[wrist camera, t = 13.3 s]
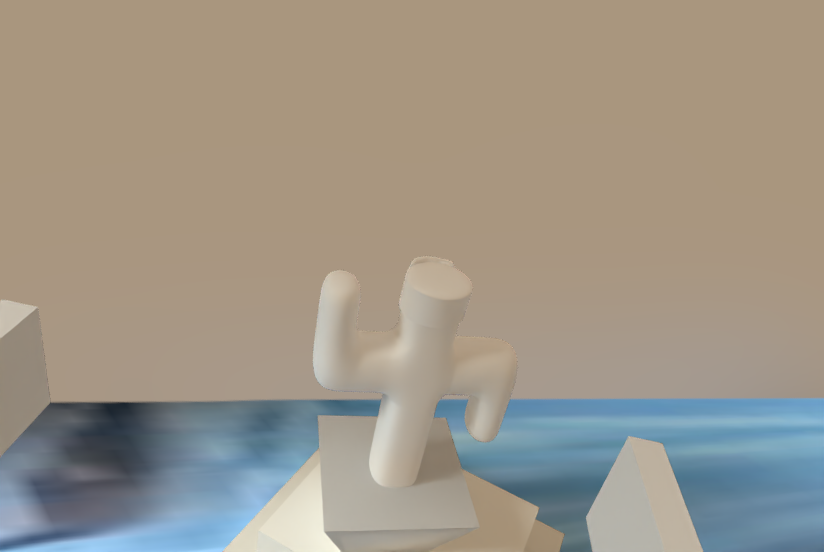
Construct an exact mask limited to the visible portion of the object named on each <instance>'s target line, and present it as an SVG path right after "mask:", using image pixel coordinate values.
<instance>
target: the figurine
mask: <svg viewBox="0 0 824 552" xmlns="http://www.w3.org/2000/svg"><path fill="white" fill-rule="evenodd" d="M472 290H473V285H472V282H471V280H470V279H469V278H468V277H467V275H465V274H464V273H463V272H461V271H460V270H458V269H456V267H455V265H454V263H453V262H452V261H450V260H447V259H443V258H439V257H433V256H424V257H417V258H415V259H413V260H412V262H411V264H410V268H409V269H408V270H407V272H406V276H405V280H404V284H403V288H402V292H401V296H400V300H399V308H400V315H399V320H398V323H397V324H396V326H395V327H394V328H393V329H391V330H389V331H384V332H378V331H376V332H375V331H361V330H358V329H357V318H358V312H359V306H360V298H361V289H360V285H359V282H358V280H357V278H356V277H355V276H354V275H353V274H351V273H350V272H348V271H344V270H336V271H333V272H331V273H329V274H328V275H327V277H326V278H325V280H324V282H323V285H322V289H321V294H320V302H319V310H318V317H317V324H316V331H315V340H314V349H313V368H314V374H315V377H316V379H317V381H318V382H319V383H320V385H321V386H322V387H324V388H326V389H328V390H332V391H344V392H375V393H382V394H383V395H382V400H381V404H380V409H379V414H378V417H376V416H328V415H318V431H319V450H320V468H321V487H322V506H323V525H324V532H325V533H326V535H327V536H328V537H329V538H330V539H331V540H332V542H333V543H334V544H335V545H336V546H337V547H338V549H339V550H340V551H341V552H427V551H430V550H433V549H435V548H437V547H439V546H441V545H443V544H446V543H448V542H450V541H452V540H454V539H456V538H459V537H461V536H463V535H465V534H467V533H469V532H471V531H474V530H476V529H478V528H480V526H479V523H478V519H477V516H476V513H475V510H474V506H473V503H472V500H471V497H470V494H469V490H468V487H467V484H466V481H465V478H464V474H463V471H462V468H461V465H460V461H459V458H458V455H457V452H456V449H455V445H454V442H453V439H452V436H451V432H450V429H449V426H448V423H447V420H446V418H433V417H434V414H435V410H436V406H437V403H438V402H439V400H440V399H441V398H442V397H443V396H444V395H470V396H469V400H468V404H467V407H466V411H465V424H466V427H467V430H468V431H469V433H470V434H471V436H472V437H473V438H475V439H476V440H478V441H480V442H489V441H492V440H493V439H494V438H495V437H496V436H497V434H498V432H499V429H500V426H501V423H502V420H503V417H504V415H505V412H506V409H507V406H508V403H509V400H510V397H511V394H512V391H513V388H514V384H515V380H516V376H517V357H516V353H515V351H514V349H513V348H512V346H511V345H509V343H507V342H506V341H503V340H500V339H496V338H483V337H468V336H456V332H457V329H458V326H459V323H460V322H461V321H462V320H463V318H464V315H465V312H466V309H467V306H468V303H469V300H470V297H471V294H472Z"/></svg>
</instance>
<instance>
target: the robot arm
mask: <svg viewBox="0 0 824 552" xmlns="http://www.w3.org/2000/svg"><path fill="white" fill-rule="evenodd" d="M50 403H51V402H50V394H49V387H48V379H47V372H46V364H45V357H44V349H43V341H42V333H41V326H40V318H39V311H38V307H35V306H30V305H26V304H21V303H16V302H12V301H7V300H1V301H0V457H1V456H2V455H3V454H4V453H5V452H6V450H7V449H8V448H9V447H10V446H11V445H12V444H13V443H14V442H15V441H16V440H17V438H18V437H19V436H20V435H21V434H22V433H23V432H24V431H25V430H26V429H27V428H28V426H29V425H30V424H31V423H32V422H33V421H34V420H35V419H36V418H37V417H38V416H39V415H40V413H41V412H42V411H43V410H44V409H45V408H46V407H47V406H48V405H49V404H50ZM586 521H587V526H588V531H589V536H590V541H591V546H592V552H703V550H702V547H701V544H700V542H699V539H698V536H697V534H696V531H695V528H694V526H693V523H692V521H691V518H690V515H689V513H688V510H687V507H686V505H685V502H684V499H683V497H682V494H681V491H680V489H679V486H678V483H677V481H676V478H675V475H674V473H673V470H672V468H671V465H670V462H669V460H668V457H667V454H666V452H665V449H664V446H663V444H662V443H658V442H654V441H649V440H645V439H640V438H636V437H631V436H628V438H627V440H626V442H625V444H624V446H623V448H622V450H621V452H620V453H619V455H618V457H617V459H616V461H615V463H614V465H613V467H612V469H611V471H610V472H609V474H608V476H607V478H606V480H605V482H604V484H603V486H602V488H601V490H600V491H599V493H598V495H597V497H596V499H595V501H594V503H593V505H592V507H591V509H590V510H589V512H588V514H587V516H586Z"/></svg>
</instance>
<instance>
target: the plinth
mask: <svg viewBox="0 0 824 552" xmlns="http://www.w3.org/2000/svg"><path fill="white" fill-rule="evenodd" d="M462 471H463V474H464V478H465V481H466V484H467V487H468V490H469V494H470V497H471V500H472V503H473V506H474V510H475V513H476V516H477V519H478V523H479V526H480V528H478V529H476V530H474V531H471V532H469V533H467V534H465V535H463V536H461V537H459V538H456V539H454V540H452V541H450V542H448V543H446V544H443V545H441V546H439V547H437V548H435V549H433V550H430V551H427V552H559V551H560V548H561V544H562V541H563V538H564V535H565V534H564V533H562V532H560V531H558V530H556V529H554V528H552V527H550V526H548V525H546V524H544V523H542V522H540V521H538V520H536V519H535V518H536V516H537V513H538V510H539V507H537V506H535V505H533V504H531V503H529V502H527V501H525V500H523V499H521V498H519V497H517V496H515V495H513V494H511V493H509V492H507V491H505V490H503V489H501V488H499V487H497V486H495V485H493V484H491V483H489V482H487V481H485V480H483V479H481V478H479V477H477V476H475V475H473V474H471V473H469V472H467V471H465V470H463V469H462ZM222 552H341V551H340V550H339V549H338V547H337V546H336V545H335V544H334V543H333V542H332V540H331V539H330V538H329V537H328V536H327V535H326V533H325V532H324V525H323V506H322V487H321V468H320V450H319V448H318V449H317V451H316V452H315V453H314V454H313V455H312V456H311V457H310V458H309V459H308V460H307V461H306V462H305V463H304V464H303V466H302V467H301V468H300V469H299V470H298V471H297V472H296V473H295V474H294V475H293V476H292V477H291V478H290V480H289V481H288V482H287V483H286V484H285V485H284V486H283V487H282V488H281V489H280V490H279V491H278V492H277V493H276V495H275V496H274V497H273V498H272V499H271V500H270V501H269V502H268V503H267V504H266V505H265V506H264V507H263V508H262V510H261V511H260V512H259V513H258V514H257V515H256V516H255V517H254V518H253V519H252V520H251V521H250V522H249V523H248V525H247V526H246V527H245V528H244V529H243V530H242V531H241V532H240V533H239V534H238V535H237V536H236V537H235V539H234V540H233V541H232V542H231V543H230V544H229V545H228V546H227V547H226V548H225V549H224V550H223V551H222Z"/></svg>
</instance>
